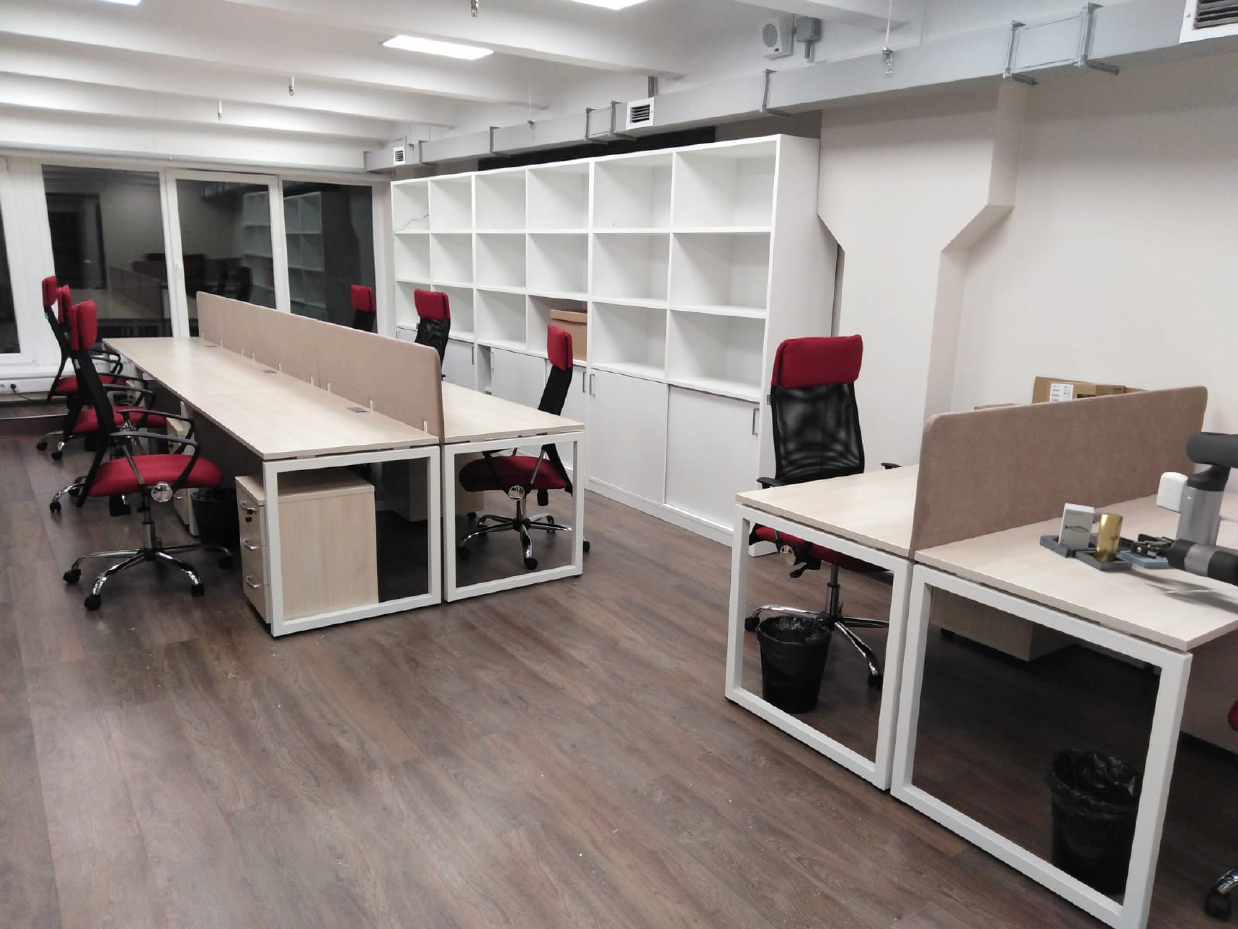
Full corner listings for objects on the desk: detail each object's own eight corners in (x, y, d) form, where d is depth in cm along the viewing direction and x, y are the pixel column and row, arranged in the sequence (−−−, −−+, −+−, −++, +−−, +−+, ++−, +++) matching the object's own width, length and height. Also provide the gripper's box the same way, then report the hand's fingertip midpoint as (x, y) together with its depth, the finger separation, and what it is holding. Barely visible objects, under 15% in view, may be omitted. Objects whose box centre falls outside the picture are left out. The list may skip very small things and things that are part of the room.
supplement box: (1057, 551, 240) (1064, 508, 237) (1057, 544, 247) (1065, 502, 244) (1086, 557, 237) (1094, 512, 234) (1086, 549, 244) (1094, 506, 241)
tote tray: (1147, 557, 239) (1148, 550, 239) (1173, 568, 230) (1174, 561, 230) (1118, 557, 237) (1120, 551, 237) (1143, 569, 229) (1144, 562, 228)
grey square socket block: (1109, 543, 250) (1111, 532, 249) (1130, 553, 242) (1132, 541, 241) (1085, 544, 248) (1087, 532, 247) (1104, 553, 241) (1107, 541, 240)
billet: (1104, 562, 233) (1113, 512, 230) (1118, 568, 228) (1127, 518, 225) (1088, 562, 232) (1097, 512, 229) (1101, 569, 228) (1110, 518, 224)
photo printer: (1153, 504, 296) (1160, 469, 293) (1163, 504, 297) (1170, 469, 294) (1178, 513, 286) (1185, 477, 283) (1189, 513, 287) (1196, 477, 284)
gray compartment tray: (1076, 543, 249) (1078, 534, 248) (1135, 571, 227) (1137, 562, 227) (1038, 543, 247) (1039, 535, 246) (1094, 572, 225) (1095, 563, 224)
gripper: (1213, 540, 213) (1147, 522, 226) (1182, 547, 206) (1115, 528, 219) (1207, 569, 214) (1142, 549, 228) (1176, 577, 207) (1110, 556, 221)
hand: (1129, 539), depth 224 cm, fingers open, 8 cm apart
